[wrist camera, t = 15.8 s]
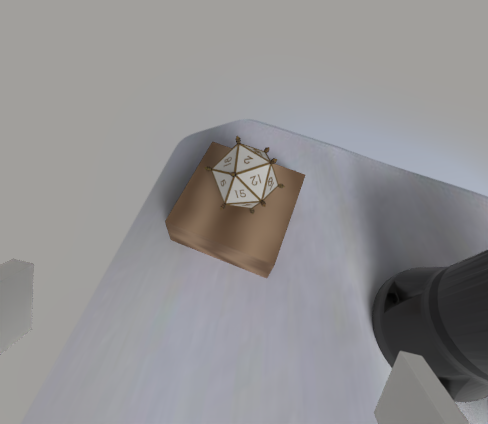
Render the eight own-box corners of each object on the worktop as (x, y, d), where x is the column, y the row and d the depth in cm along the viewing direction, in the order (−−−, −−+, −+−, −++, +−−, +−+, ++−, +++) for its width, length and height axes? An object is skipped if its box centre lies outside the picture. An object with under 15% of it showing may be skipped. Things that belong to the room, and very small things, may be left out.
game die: (230, 200, 42) (213, 130, 37) (290, 196, 39) (280, 120, 35) (210, 235, 34) (186, 152, 30) (283, 232, 32) (268, 141, 27)
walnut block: (294, 197, 46) (305, 174, 41) (266, 279, 39) (274, 264, 34) (212, 167, 47) (212, 141, 42) (171, 241, 40) (165, 221, 35)
